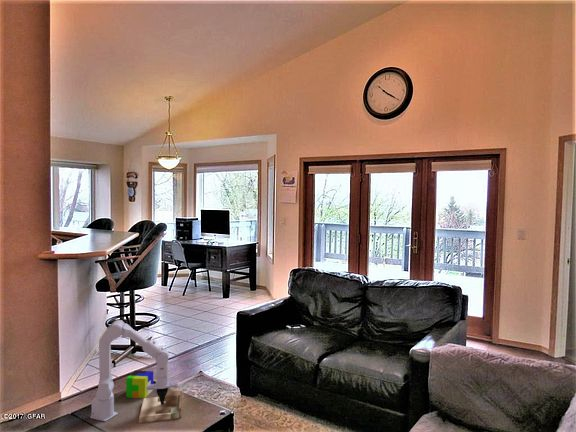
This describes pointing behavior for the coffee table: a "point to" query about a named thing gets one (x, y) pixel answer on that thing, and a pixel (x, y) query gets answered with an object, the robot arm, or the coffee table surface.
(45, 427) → the coffee table surface
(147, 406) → the trap board
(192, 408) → the coffee table surface
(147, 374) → the puzzle toy
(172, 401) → the block
